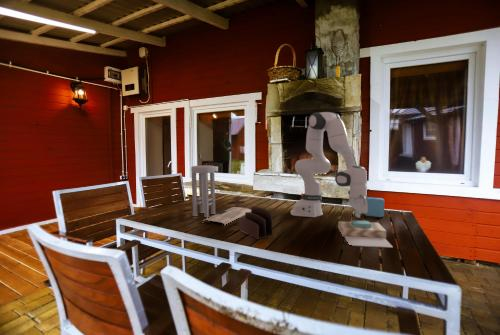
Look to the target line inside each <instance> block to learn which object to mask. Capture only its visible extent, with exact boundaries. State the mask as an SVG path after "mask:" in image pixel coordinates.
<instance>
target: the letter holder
mask: <svg viewBox="0 0 500 335" xmlns="http://www.w3.org/2000/svg"><path fill="white" fill-rule="evenodd" d="M250 209H251V212H246V213H245V215H244V217H243V216H242V217H240V218H239V219H238V230H239V229H240V230H242V231H244V232H246V233H248V234H250V235H252V236H253V237H255V238H257V239H260V240H262V239H261V238H264V239H266V238H265V237H268V238H270V237H269V236H272V237H273V236H274V235H273V234H274V233H273V232H274V230H273V214H272V212H271V211H269V210H267V209H264V208H262V207H260V206H254V205H252V206H251V207H250ZM240 230H239V231H240ZM242 231H241V232H242ZM244 232H243V233H244ZM246 233H245V234H246ZM248 234H247V235H248ZM253 237H252V238H253ZM255 238H254V239H255ZM257 239H256V240H257Z"/></svg>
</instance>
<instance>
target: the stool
mask: <svg viewBox="0 0 500 335" xmlns="http://www.w3.org/2000/svg"><path fill="white" fill-rule="evenodd" d="M190 171H191V195H192V196H191V198H192V217H193V216H198V205H199V214H200V213H204V214H203V215H204V217H207V218H208V217H210V215H211V214H215V215H216V191H215V190H216V188H215V187H216V184H215V165H210V164H209V165H208V164H206V165H205V164H204V165H203V164H202V165H193V166H191V168H190ZM197 174H198V184H197ZM209 184H210V185H209ZM197 185H198V187H197ZM209 186H210V187H209ZM197 188H198V189H197ZM209 189H210V197H209ZM198 191H199V192H198ZM198 194H199V197H198ZM198 217H199V216H198Z"/></svg>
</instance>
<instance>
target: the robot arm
mask: <svg viewBox="0 0 500 335" xmlns="http://www.w3.org/2000/svg"><path fill="white" fill-rule="evenodd" d="M325 131H326V133H327V138H328V144H329V146H330V148H331V149H332V150H333V151H334V152H336V153H338V154H340V155H341V157H342V158H343V161H344V163H345V166H346V167H345V168H346V169H345V170H344V169H343V170H340V171H338V172H336V174H335V177H334V179H335V180H334V181H335V183H336V185H338V186H339V187H342V188H345V187H349V190H348V192H347V194H348V202H349V203H348V204H349V206H350V207H351V208H353V209H354V213H355V217H356V218H361V214H364V213H367V211H368V206H367V200H366V199H365V198H366V197H367V181H368V180H367V178H368V176H367V175H368V174H367V170H366V168H365V167H364V166H361V165H358V164H357V161H356V157H355V154H354V151H353V149H352V146H351V145H350V142H349V139H348V133H347V129H346V127H345V123H344V121H343V120H342V119H341V116H340V115H339V113H336V112H330V111H323V112H314V113H312V114H310V116H309V117H308V127H307V130H306V140H305V141H306V142H305V150H306V151H307V153H309V154H310V155H311V157H312V158H303V159H298V160H297V161H296V162H295V164H294V170H295V172H296V173H297V174H298V175H299V176H300V177H301V178H302V180H303V184H304V193H303V192H302V193H301V194H300V196H301V199H299V200H298V201H297V202H295V203H294V205H293V209H291V210H290V215H292V216H293V217H294V216H296V217H310V218H317V217H320V216H323V215H324V213H323V209H322V199H323V198H322V193H321V192H322V189H321V188H322V184H321V182H320V181H319V180H318V179H316V178H315V176H314V175H323V174H327V173H329V172H330V171H331V167H332V164H331V162H330V160H329V159H327V157H326V156H325V154H324V148H323V145H324V132H325Z"/></svg>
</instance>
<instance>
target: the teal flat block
mask: <svg viewBox="0 0 500 335" xmlns="http://www.w3.org/2000/svg"><path fill="white" fill-rule="evenodd" d="M350 222H351V224H352V226H353V227H362V228H371V223H370V221H369V220H355V219H354V220H351V221H350Z"/></svg>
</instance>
